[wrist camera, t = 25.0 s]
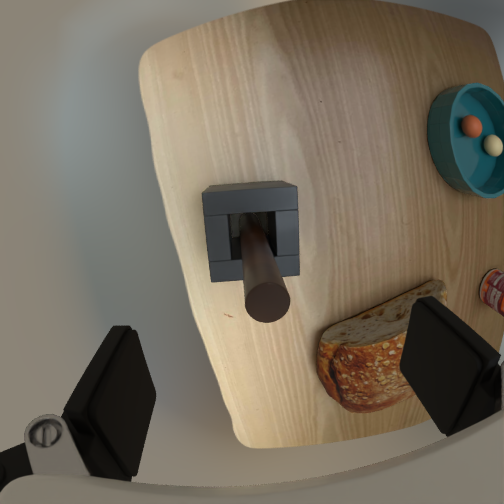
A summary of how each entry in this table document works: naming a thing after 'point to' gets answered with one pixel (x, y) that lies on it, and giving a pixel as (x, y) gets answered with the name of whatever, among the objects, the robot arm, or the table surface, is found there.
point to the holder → (247, 201)
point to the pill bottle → (493, 290)
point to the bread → (371, 353)
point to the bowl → (467, 139)
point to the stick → (261, 274)
